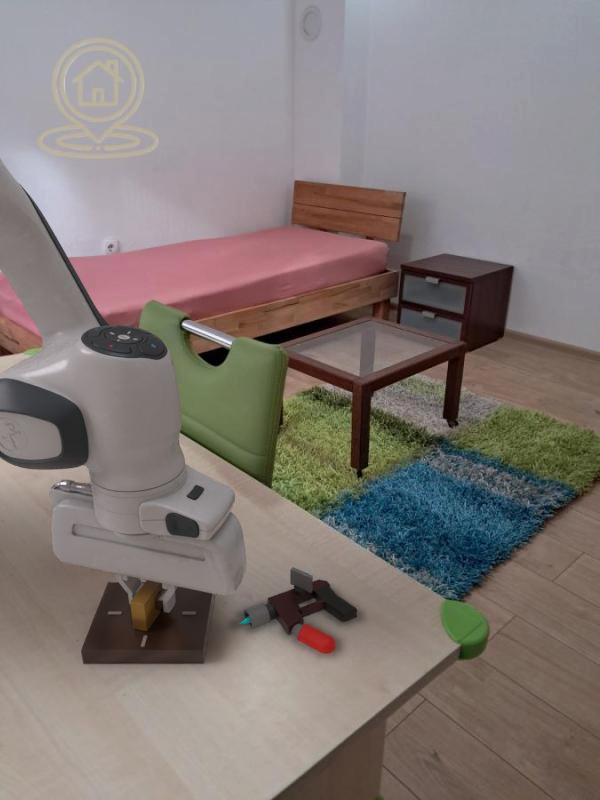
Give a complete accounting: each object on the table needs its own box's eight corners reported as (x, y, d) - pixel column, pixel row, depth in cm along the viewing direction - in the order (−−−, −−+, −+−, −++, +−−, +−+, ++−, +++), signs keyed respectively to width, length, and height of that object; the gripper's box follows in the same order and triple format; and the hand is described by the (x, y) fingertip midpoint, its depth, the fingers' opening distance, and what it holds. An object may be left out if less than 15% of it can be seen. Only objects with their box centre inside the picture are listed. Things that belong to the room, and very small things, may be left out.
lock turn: (147, 632, 64) (143, 603, 63) (133, 628, 65) (129, 600, 63) (169, 599, 69) (167, 571, 67) (156, 596, 69) (153, 568, 68)
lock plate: (84, 672, 63) (80, 649, 62) (110, 602, 72) (107, 580, 71) (204, 672, 63) (202, 649, 62) (215, 602, 73) (214, 580, 71)
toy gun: (232, 623, 70) (231, 588, 68) (326, 588, 75) (327, 554, 73) (271, 687, 62) (271, 649, 60) (372, 642, 67) (375, 607, 65)
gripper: (27, 493, 61) (49, 605, 66) (226, 529, 56) (231, 647, 61) (66, 462, 66) (83, 568, 72) (250, 492, 61) (253, 603, 67)
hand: (153, 604), depth 67 cm, fingers closed on lock turn, 2 cm apart
